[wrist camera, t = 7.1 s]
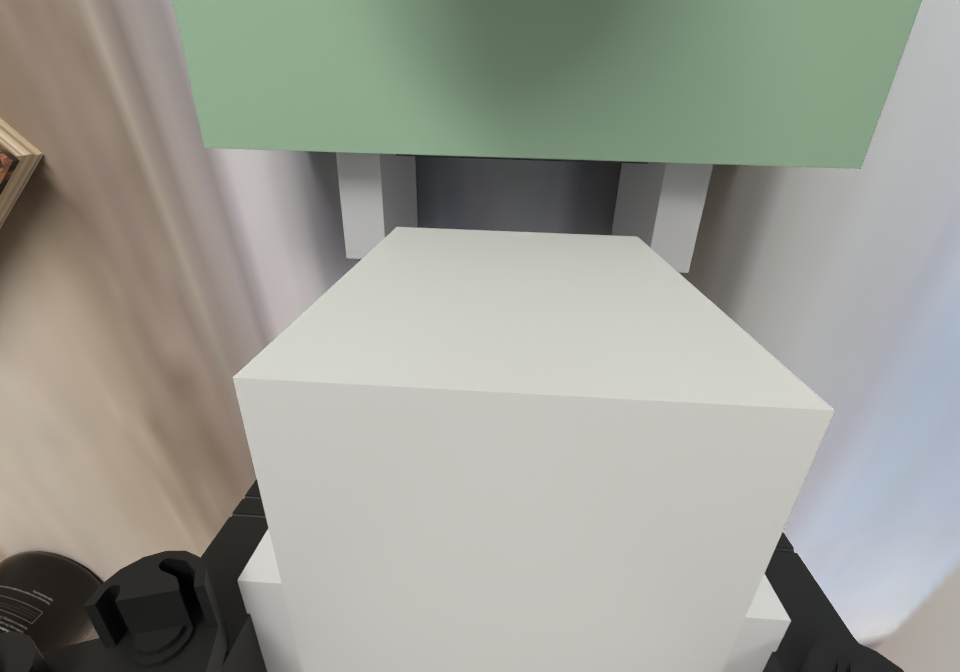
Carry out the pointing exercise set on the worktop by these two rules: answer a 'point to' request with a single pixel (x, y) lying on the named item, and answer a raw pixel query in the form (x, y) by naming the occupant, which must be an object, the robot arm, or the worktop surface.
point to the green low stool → (546, 92)
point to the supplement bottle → (45, 598)
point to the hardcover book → (14, 166)
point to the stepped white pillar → (522, 459)
